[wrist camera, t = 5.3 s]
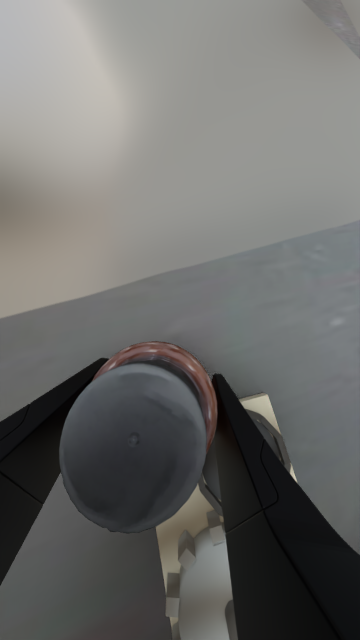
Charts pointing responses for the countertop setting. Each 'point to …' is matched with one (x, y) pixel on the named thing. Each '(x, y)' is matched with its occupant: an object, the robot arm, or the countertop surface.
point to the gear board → (207, 545)
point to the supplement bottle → (138, 437)
